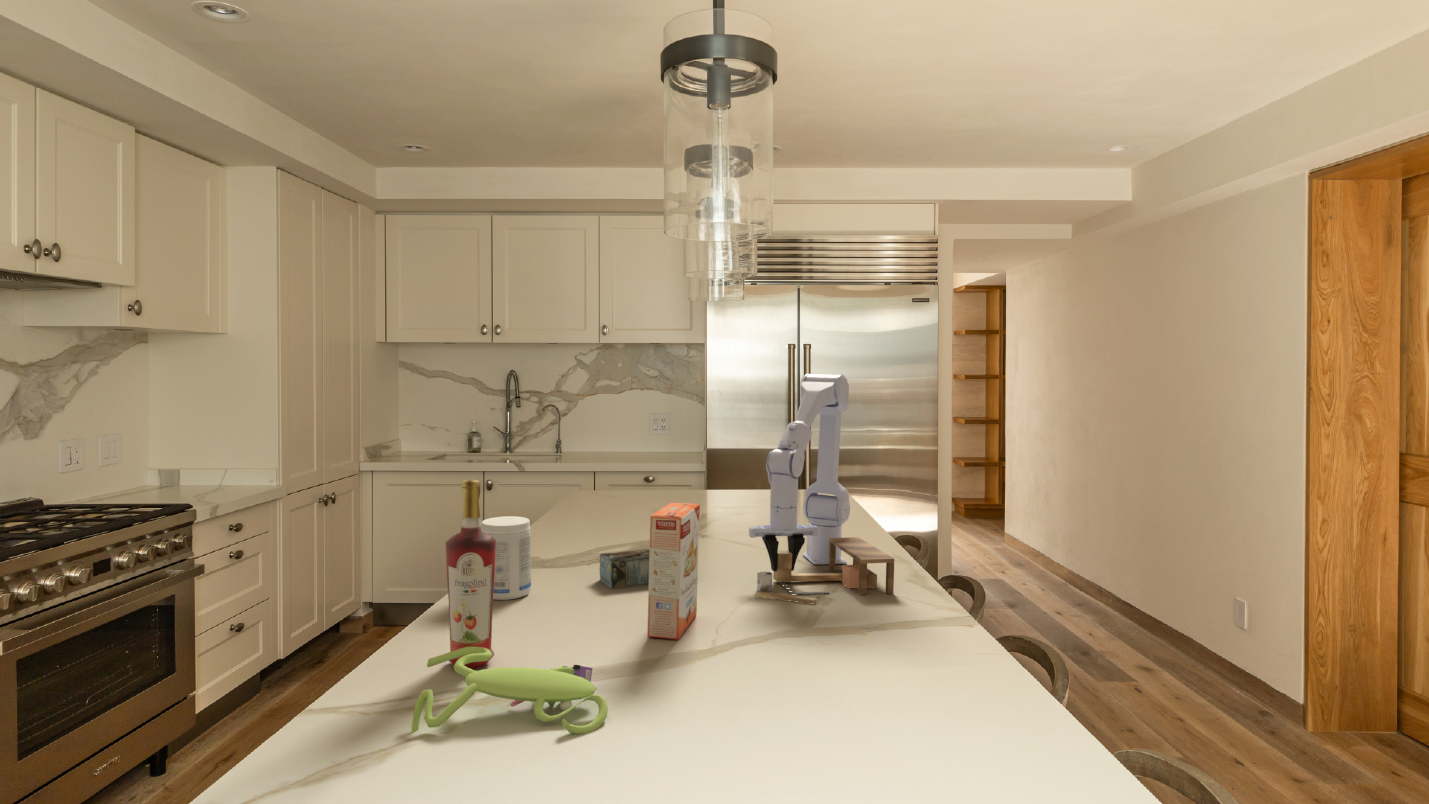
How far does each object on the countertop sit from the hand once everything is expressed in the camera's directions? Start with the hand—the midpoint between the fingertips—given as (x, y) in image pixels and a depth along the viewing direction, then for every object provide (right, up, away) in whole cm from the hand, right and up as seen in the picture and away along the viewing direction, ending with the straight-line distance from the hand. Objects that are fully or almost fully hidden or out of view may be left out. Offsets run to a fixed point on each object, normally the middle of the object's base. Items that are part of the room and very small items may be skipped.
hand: (782, 570), depth 172 cm
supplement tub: (-55, -3, -11) cm, 57 cm away
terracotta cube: (+15, -3, -1) cm, 15 cm away
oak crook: (+9, -3, -1) cm, 9 cm away
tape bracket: (+4, -3, -2) cm, 6 cm away
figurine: (-42, -6, -62) cm, 76 cm away
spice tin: (-4, -3, -8) cm, 9 cm away
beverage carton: (-29, -3, +1) cm, 29 cm away
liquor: (-51, -5, -48) cm, 71 cm away
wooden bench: (+17, -3, +3) cm, 17 cm away
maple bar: (0, -4, -12) cm, 12 cm away
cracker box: (-21, -4, -29) cm, 37 cm away
